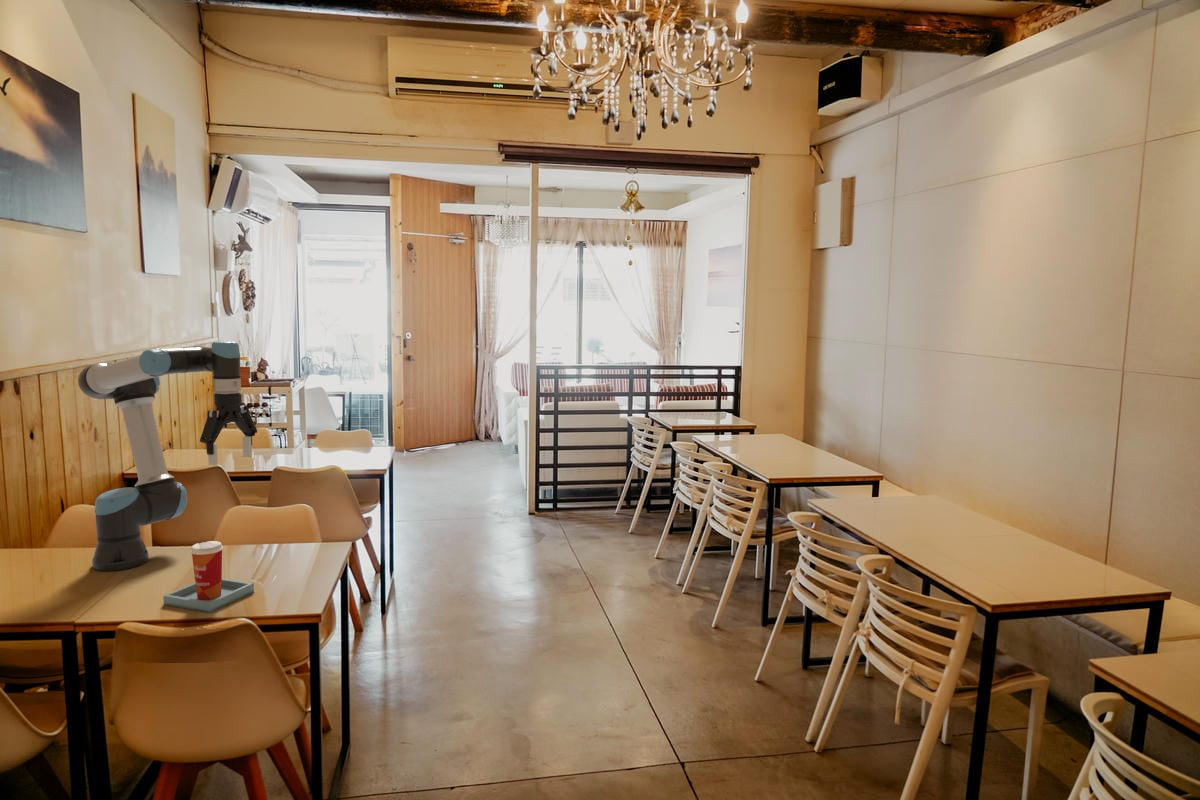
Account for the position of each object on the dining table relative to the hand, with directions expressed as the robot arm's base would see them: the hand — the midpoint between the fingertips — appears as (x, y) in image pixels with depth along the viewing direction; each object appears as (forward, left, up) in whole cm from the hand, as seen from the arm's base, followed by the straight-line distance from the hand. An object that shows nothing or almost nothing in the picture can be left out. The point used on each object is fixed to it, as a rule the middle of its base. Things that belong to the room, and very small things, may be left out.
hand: (230, 460), depth 230 cm
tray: (+11, -21, -35) cm, 42 cm away
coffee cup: (+11, -21, -34) cm, 42 cm away
